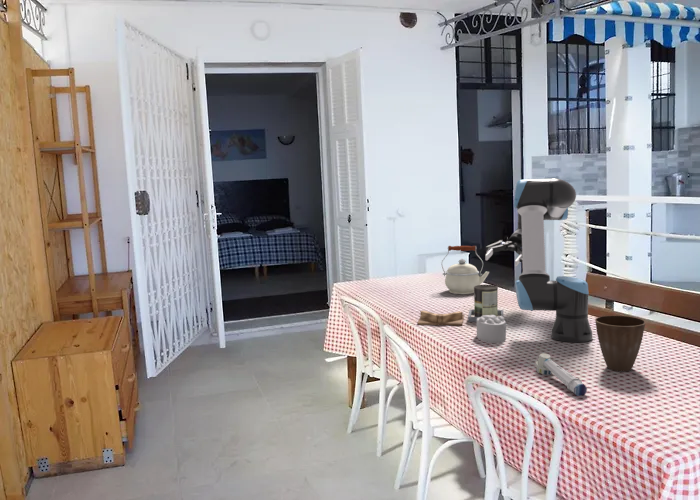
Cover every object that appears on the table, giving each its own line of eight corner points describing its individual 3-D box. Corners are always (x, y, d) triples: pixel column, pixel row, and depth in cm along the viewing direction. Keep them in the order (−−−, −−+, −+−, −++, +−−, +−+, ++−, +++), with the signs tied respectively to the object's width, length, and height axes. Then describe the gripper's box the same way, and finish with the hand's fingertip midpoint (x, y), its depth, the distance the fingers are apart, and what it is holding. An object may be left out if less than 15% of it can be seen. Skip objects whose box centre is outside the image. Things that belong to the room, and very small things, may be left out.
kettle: (440, 295, 330) (439, 248, 326) (443, 288, 347) (442, 243, 344) (489, 295, 324) (488, 248, 320) (489, 288, 341) (489, 243, 338)
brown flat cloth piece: (422, 315, 286) (421, 307, 285) (464, 316, 281) (464, 307, 281) (417, 324, 270) (417, 315, 269) (462, 325, 265) (462, 316, 265)
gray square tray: (503, 322, 269) (503, 318, 268) (467, 321, 272) (467, 317, 272) (503, 314, 283) (503, 310, 283) (469, 313, 287) (469, 309, 286)
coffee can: (470, 319, 276) (470, 288, 274) (478, 314, 285) (478, 283, 283) (493, 321, 271) (493, 289, 269) (501, 316, 279) (500, 285, 278)
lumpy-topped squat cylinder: (499, 333, 252) (499, 312, 251) (510, 342, 239) (510, 320, 238) (474, 335, 251) (474, 313, 250) (483, 343, 238) (483, 321, 237)
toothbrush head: (573, 384, 181) (533, 349, 205) (571, 405, 183) (532, 368, 207) (590, 383, 182) (548, 348, 206) (587, 403, 184) (546, 366, 208)
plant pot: (586, 369, 206) (587, 321, 204) (605, 358, 216) (606, 312, 214) (632, 378, 195) (634, 328, 193) (651, 367, 206) (652, 319, 203)
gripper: (544, 252, 286) (528, 273, 271) (492, 242, 300) (474, 262, 284) (545, 237, 283) (528, 258, 268) (492, 228, 296) (474, 248, 281)
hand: (500, 260), depth 276 cm, fingers open, 13 cm apart
